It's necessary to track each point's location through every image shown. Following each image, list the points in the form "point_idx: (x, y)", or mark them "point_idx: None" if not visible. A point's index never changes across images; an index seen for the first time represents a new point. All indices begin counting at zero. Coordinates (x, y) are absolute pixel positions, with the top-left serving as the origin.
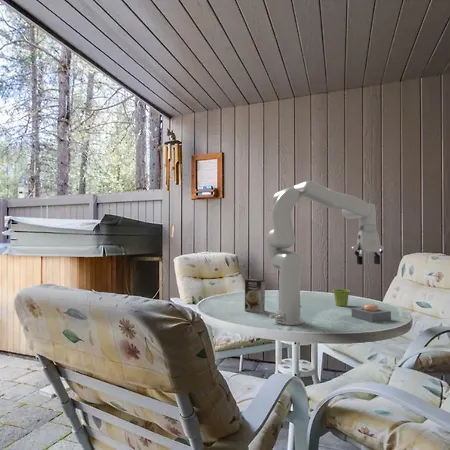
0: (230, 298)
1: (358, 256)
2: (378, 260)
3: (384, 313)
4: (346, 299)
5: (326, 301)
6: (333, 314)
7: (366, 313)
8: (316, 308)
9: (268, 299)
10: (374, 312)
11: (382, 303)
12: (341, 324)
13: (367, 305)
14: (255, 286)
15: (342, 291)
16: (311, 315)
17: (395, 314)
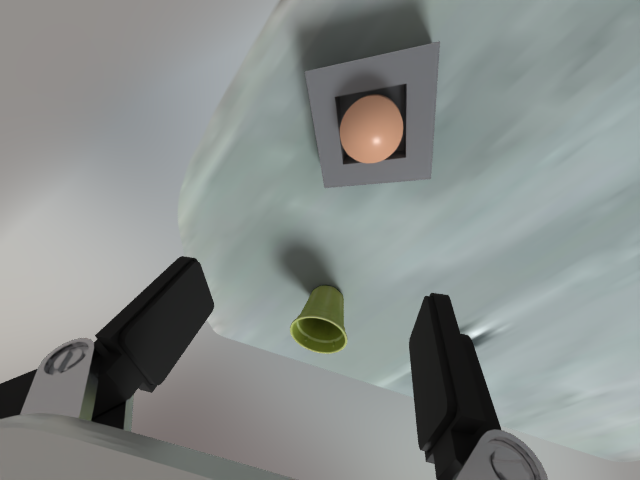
0: (568, 441)
1: (496, 440)
2: (169, 288)
3: (349, 61)
4: (318, 299)
5: None
6: (459, 217)
7: (436, 84)
8: None
9: None
10: (404, 65)
11: None
12: (623, 44)
13: (384, 138)
14: None
15: (303, 337)
16: (562, 229)
17: (236, 155)
